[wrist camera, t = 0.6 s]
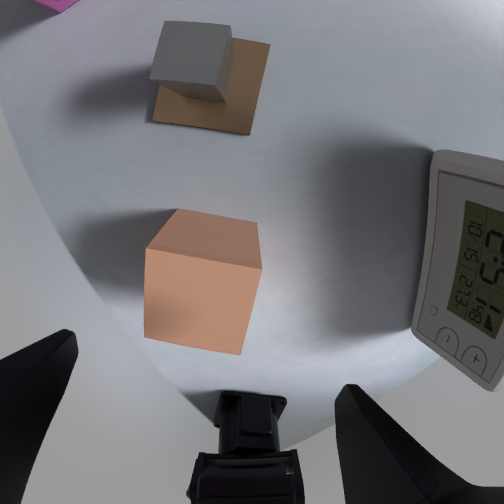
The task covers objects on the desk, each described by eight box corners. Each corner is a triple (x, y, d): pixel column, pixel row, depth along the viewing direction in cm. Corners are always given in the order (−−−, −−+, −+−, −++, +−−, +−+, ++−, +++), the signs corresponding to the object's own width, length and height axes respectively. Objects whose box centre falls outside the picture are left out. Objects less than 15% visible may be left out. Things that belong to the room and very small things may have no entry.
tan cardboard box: (241, 291, 21) (240, 355, 15) (170, 278, 20) (144, 337, 14) (256, 223, 19) (262, 269, 13) (177, 208, 18) (145, 247, 12)
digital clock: (425, 136, 16) (543, 160, 7) (498, 165, 17) (590, 200, 7) (377, 330, 23) (427, 426, 13) (449, 325, 23) (504, 397, 13)
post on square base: (249, 135, 16) (251, 136, 10) (154, 121, 16) (103, 118, 9) (269, 46, 14) (283, 0, 8) (174, 34, 14) (137, -11, 7)
